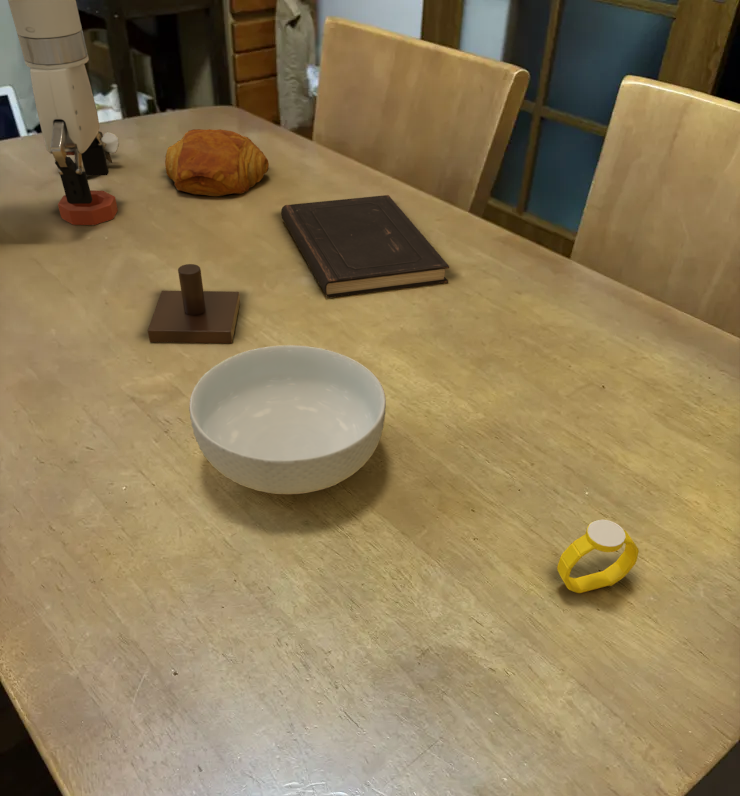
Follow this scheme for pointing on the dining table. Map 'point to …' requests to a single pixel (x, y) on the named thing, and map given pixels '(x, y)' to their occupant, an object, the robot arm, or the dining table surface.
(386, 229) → the hardcover book
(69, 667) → the dining table surface
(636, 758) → the dining table surface
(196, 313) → the stand
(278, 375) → the cereal bowl
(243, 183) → the croissant
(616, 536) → the watch
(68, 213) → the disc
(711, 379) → the dining table surface
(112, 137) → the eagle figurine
